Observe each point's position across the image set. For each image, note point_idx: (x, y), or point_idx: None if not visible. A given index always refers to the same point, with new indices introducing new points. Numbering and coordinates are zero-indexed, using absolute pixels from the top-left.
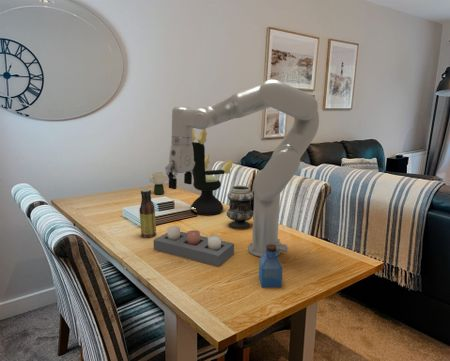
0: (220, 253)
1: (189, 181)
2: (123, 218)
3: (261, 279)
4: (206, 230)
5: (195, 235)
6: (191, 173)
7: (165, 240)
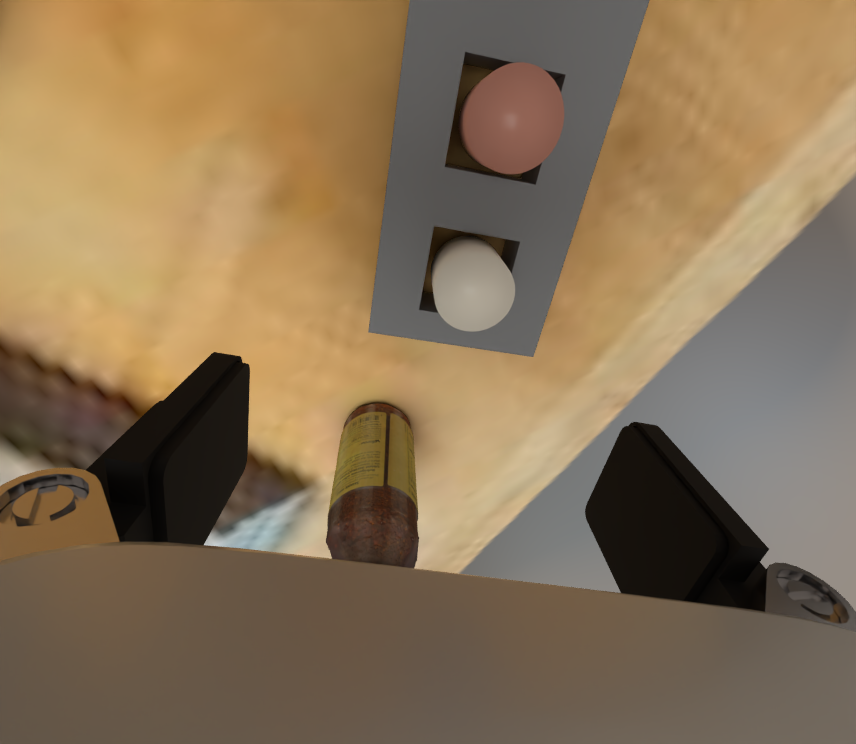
0: None
1: (232, 400)
2: None
3: None
4: (158, 177)
5: (554, 84)
6: (89, 487)
7: (527, 297)
